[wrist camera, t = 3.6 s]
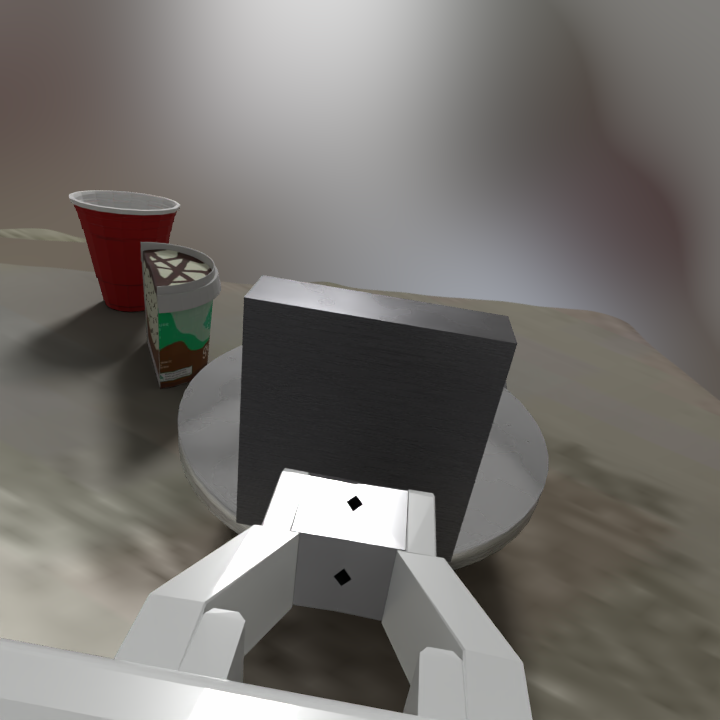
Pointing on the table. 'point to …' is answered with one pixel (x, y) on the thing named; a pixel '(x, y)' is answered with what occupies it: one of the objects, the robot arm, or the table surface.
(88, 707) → the robot arm
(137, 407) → the table surface
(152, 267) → the food container
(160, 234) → the plastic cup
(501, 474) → the lid
